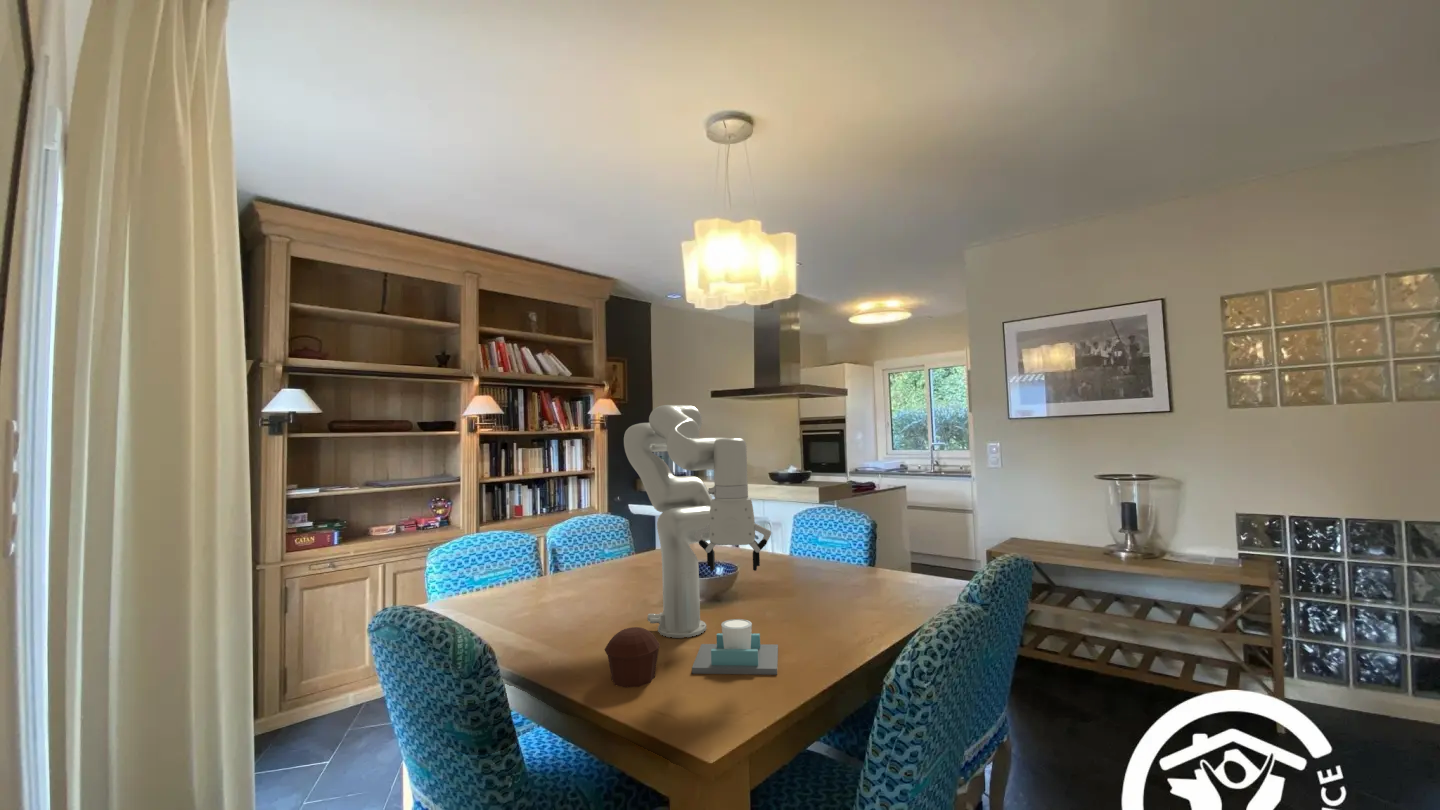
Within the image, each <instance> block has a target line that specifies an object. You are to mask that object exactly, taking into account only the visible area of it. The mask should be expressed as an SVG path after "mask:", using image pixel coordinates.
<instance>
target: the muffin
mask: <svg viewBox="0 0 1440 810" xmlns="http://www.w3.org/2000/svg"><path fill="white" fill-rule="evenodd" d="M660 646H661V644H660V642H659V641H658V639H657V638H656V637H655V635H654V634H653V632H652V631H650V630H648V629H645V628H644V627H640V626H639V627H638V626H632V627H628V628H627V627H626V628H624V629H621V630H620V631H619V632H617V633H615V634H614V635H613V636H612V637H611V639H610V640H609V642H608V643H607V644H606V647H605V648H604V652H605V654H606V656H607V660H608V665H609V671H610V678H611V681H612V680H613V681H612V682H613V684H614V686H616V685H617V687H622V688H625V689H629V688H639V687H642V686H645V685H647V684H651V682H652V681H653V680H654V678H655V677H656V671H657V670H656V669H657V663H658V655H659V649H660Z"/></svg>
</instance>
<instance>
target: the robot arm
mask: <svg viewBox="0 0 1440 810" xmlns="http://www.w3.org/2000/svg"><path fill="white" fill-rule="evenodd" d="M702 425H703V417H702V415H701V412H700V411H699V409H698V408H696V406H693V405H690V404H665V405H664V404H663V405H660V406H659V405H658V406H657V407H655V408H654V409H652V410H651V412H650V415H649V417H648V422H639V423H636V424H632V425H631V426H629V427H628V428H627V429H626V430H625V432H624V434H623V435H624V437H623V447H624V452H625V455H626V457H627V460H628V462H629V464H630V465H631V467H632V468H633V469H634V470H635V472H636V473H637V474H638V476H639V478H640V480H641V482H642V484H643V488H644V490H645V491H646V494H647V496H648V499H649V501H650V503H651V505H652V506H653V508H654V509H655V510H656V511H657V512H659V513H660V514H659V516H658V518H657V522H656V525H657V526H656V528H657V529H656V530H657V535H658V539H659V545H660V553H661V569H662V571H661V573H662V612H659V613H648V614H647V621H648V622H649V623H650V624H658V626H657V633H658V632H659V633H660V634H659V633H658V634H659V635H660V636H662V635H663V636H662V637H665V636H666V638H670V637H672V638H671V639H673V638H674V639H685V638H684V637H687V638H691V637H692V636H693V637H696V635H697V636H699V635H702V634H703V633H705V632H706V630H707V623H706V622H705V621H703V620H701V606H700V605H701V604H700V603H701V602H700V601H701V600H700V598H701V597H700V575H699V574H700V573H699V572H700V570H699V569H700V567H699V559H698V557H697V554H695V552H694V550H692V548H691V546H690V544H694V543H698V545H699V546H700V547H701V548H702V549H703V550H704V551H705V553H706V559H707V560H706V563H707V567H709V571H710V572H713V571H714V570H715V568H716V562H715V561H716V559H715V557H716V556H715V551H714V547H715V546H747V545H749V546H750V547H751V548H752V571H753V572H756V571H757V570H758V567H760V565H761V564H760V563H761V561H760V560H761V559H760V555H761V554H760V552H761V550H762V549H763V548H764V547H765V546H766V545H767V544H768V542H769V540H770V538H771V535H772V531H771V530H770V529H767V528H766V527H763V526H761V525H759V524H758V523H755V512H754V506H753V501H752V498H750V497H749V485H748V460H747V459H748V454H747V453H748V451H747V443H746V441H745V439H743V438H741V437H739V438H738V437H730V438H729V437H700V430H701V429H702ZM653 452H654V453H653ZM657 452H658V453H659V452H667V454H668V457H669V459H670V460H671V461H672V463H674V464H675V465H677V466H678V467H679V468H681V469H683V470H686V471H693V472H694V471H704V470H705V471H707V470H714V471H713V477H714V478H713V479H714V486H712V487H708V488H707V486H706V484H705V483H704V482H703V480H702V479H700V478H699V477H697V476H693V475H686V476H685V475H683V476H676V475H674V474H673V473H672V471H671V469H670V467H669V465H668V464H667V463H666V462H665V460H664V459H662V458H661V457H660V456H658V455H656V454H655V453H657ZM712 495H713V497H714V498H713V497H712ZM756 532H758V533H760V534H762V535H763V537H762V539H761V540H760V541H759V542H757V541H756ZM708 541H709V543H708ZM704 631H705V632H704ZM701 633H702V634H701ZM693 637H692V638H693Z"/></svg>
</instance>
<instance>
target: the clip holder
mask: <svg viewBox="0 0 1440 810" xmlns="http://www.w3.org/2000/svg"><path fill="white" fill-rule="evenodd" d="M715 637H716V643H701V644H700V647H699V649H698V651H697V653H696V656H695V659H694V661H693V665H692V667H691V674H698V675H699V674H705V675H706V674H707V675H709V674H710V675H771V676H772V675H778V662H779V661H778V660H779V657H778V656H779V644H772V643H771V644H767V643H766V644H762V643H761V633H752V632H751V649H724V643H723V635H722V632H721V633H718V632H717V633H716V636H715Z"/></svg>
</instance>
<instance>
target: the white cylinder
mask: <svg viewBox="0 0 1440 810" xmlns="http://www.w3.org/2000/svg"><path fill="white" fill-rule="evenodd" d="M720 626H721V633H722V635H723V643H724V649H751V633H752V631H753V630H752V627H753V623H752V622H751V621H750V620H747V619H742V618H735V619H734V618H732V619H727V620H724V621H722V622H721V624H720Z"/></svg>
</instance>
